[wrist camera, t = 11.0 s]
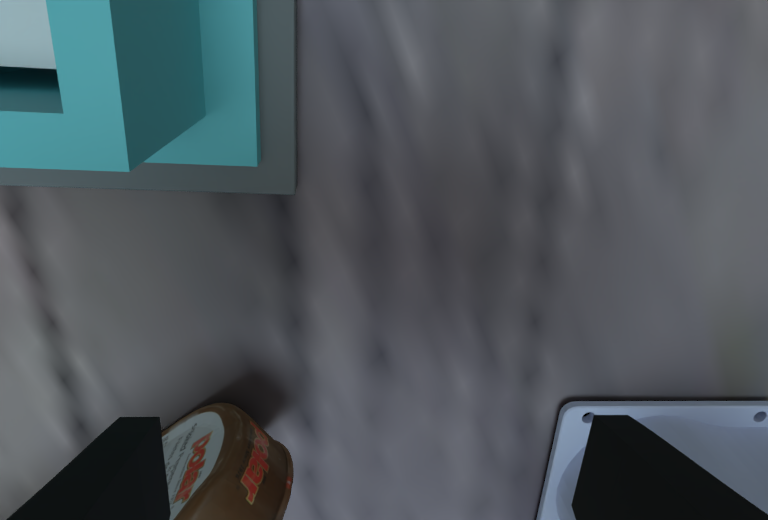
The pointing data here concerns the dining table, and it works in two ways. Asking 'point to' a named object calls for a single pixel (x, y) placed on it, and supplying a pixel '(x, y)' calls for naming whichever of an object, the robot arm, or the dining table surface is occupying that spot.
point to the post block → (272, 176)
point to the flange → (137, 88)
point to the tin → (225, 467)
